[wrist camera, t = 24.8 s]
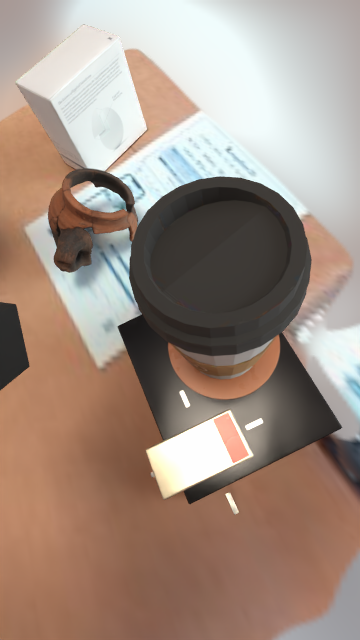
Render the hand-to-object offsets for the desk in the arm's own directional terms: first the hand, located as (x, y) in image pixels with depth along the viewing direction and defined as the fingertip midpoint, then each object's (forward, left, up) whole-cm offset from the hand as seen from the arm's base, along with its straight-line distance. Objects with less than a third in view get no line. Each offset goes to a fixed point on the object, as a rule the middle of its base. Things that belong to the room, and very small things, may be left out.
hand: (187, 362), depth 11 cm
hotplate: (-1, +1, -18) cm, 19 cm away
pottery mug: (-22, -4, -19) cm, 29 cm away
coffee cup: (-4, +3, -16) cm, 17 cm away
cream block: (+3, -2, -16) cm, 16 cm away
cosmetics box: (-36, +2, -19) cm, 41 cm away
